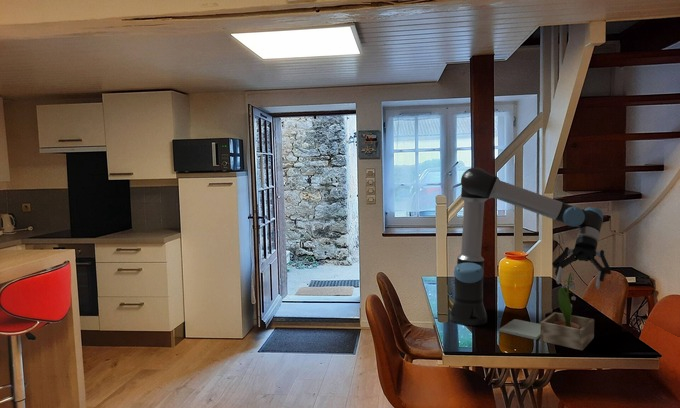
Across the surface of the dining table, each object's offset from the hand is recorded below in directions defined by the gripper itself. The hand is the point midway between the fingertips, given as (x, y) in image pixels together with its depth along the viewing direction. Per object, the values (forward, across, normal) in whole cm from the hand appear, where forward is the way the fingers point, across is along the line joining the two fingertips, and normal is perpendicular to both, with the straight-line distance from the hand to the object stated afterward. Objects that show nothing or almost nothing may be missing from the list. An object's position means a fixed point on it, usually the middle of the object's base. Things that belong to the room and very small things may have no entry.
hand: (576, 284), depth 166 cm
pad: (+19, +17, -8) cm, 26 cm away
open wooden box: (+19, +1, -8) cm, 21 cm away
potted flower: (+19, +1, -8) cm, 21 cm away
